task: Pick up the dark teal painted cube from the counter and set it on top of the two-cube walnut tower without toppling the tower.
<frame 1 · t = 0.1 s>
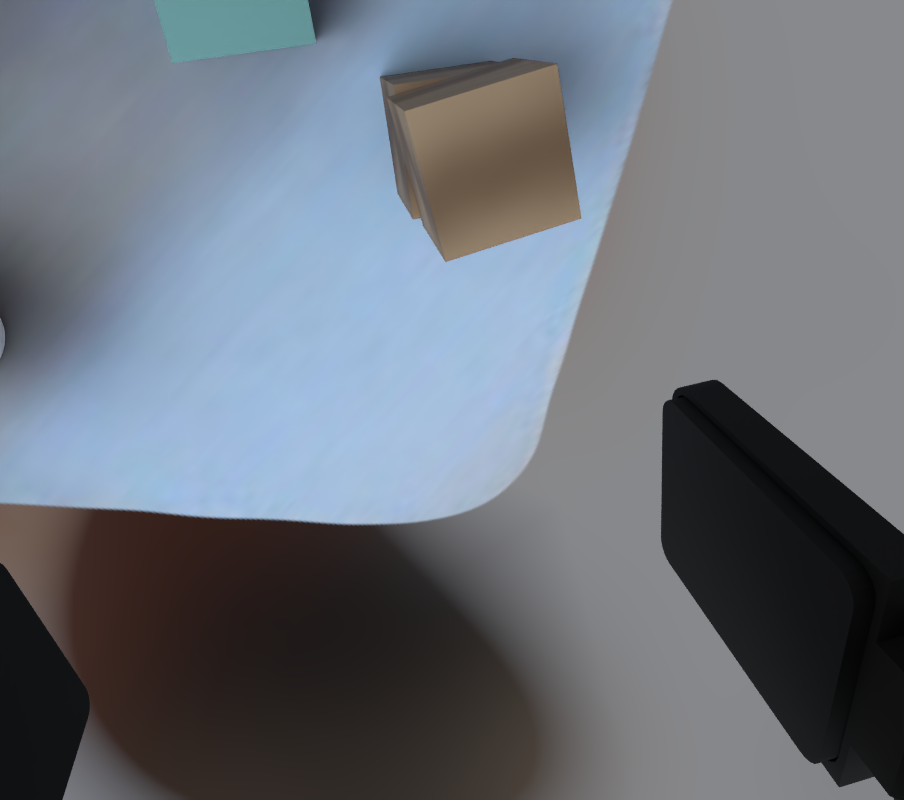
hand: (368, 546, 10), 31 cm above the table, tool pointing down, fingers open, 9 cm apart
tower base: (442, 129, 37), on the table, touching tower mid
tower mid: (466, 145, 31), point 6 cm above the table, touching tower base
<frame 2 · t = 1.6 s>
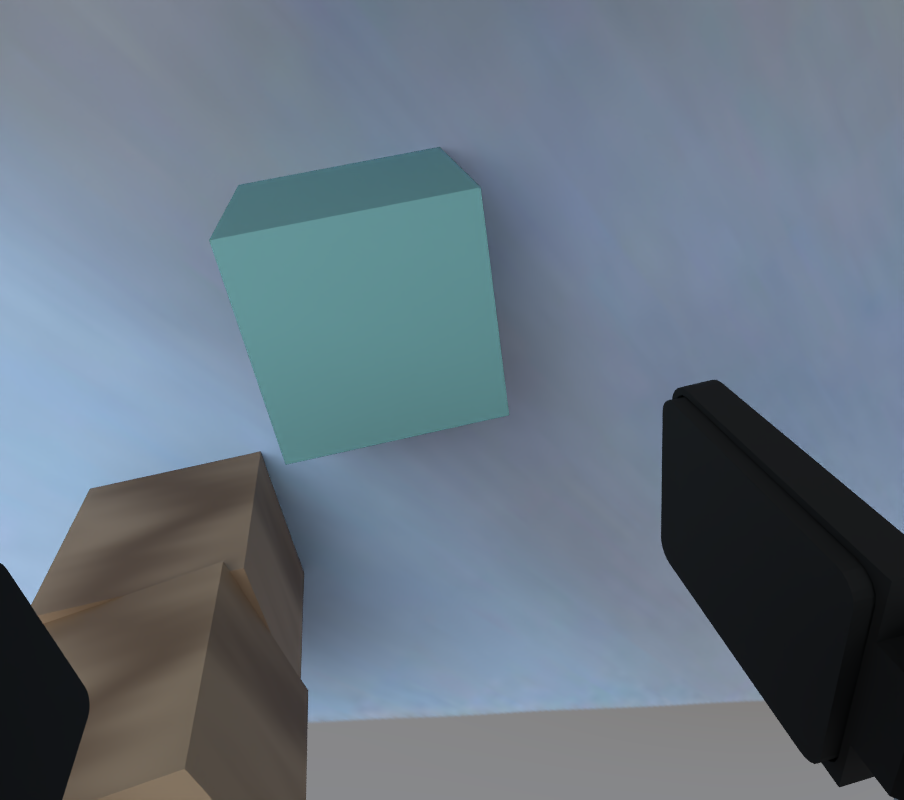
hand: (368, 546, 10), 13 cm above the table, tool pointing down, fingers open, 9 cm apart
tower base: (204, 533, 25), on the table, touching tower mid
tower mid: (173, 663, 20), point 6 cm above the table, touching tower base
teal block: (362, 262, 21), on the table
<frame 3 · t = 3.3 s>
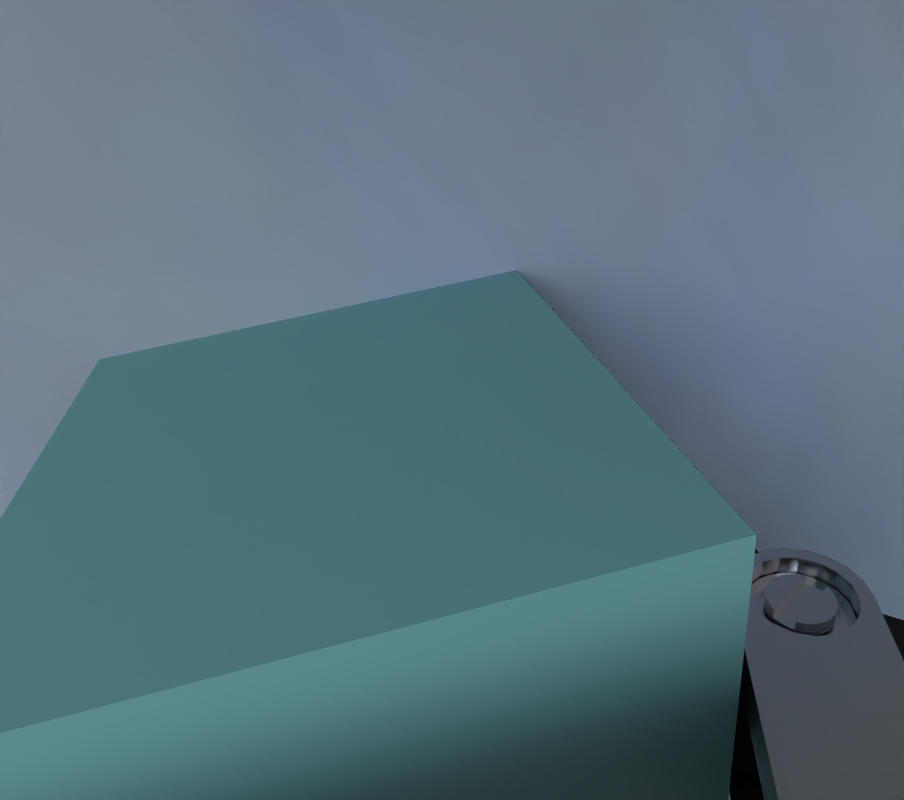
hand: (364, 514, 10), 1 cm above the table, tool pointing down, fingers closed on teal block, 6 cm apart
teal block: (360, 480, 11), on the table, touching gripper
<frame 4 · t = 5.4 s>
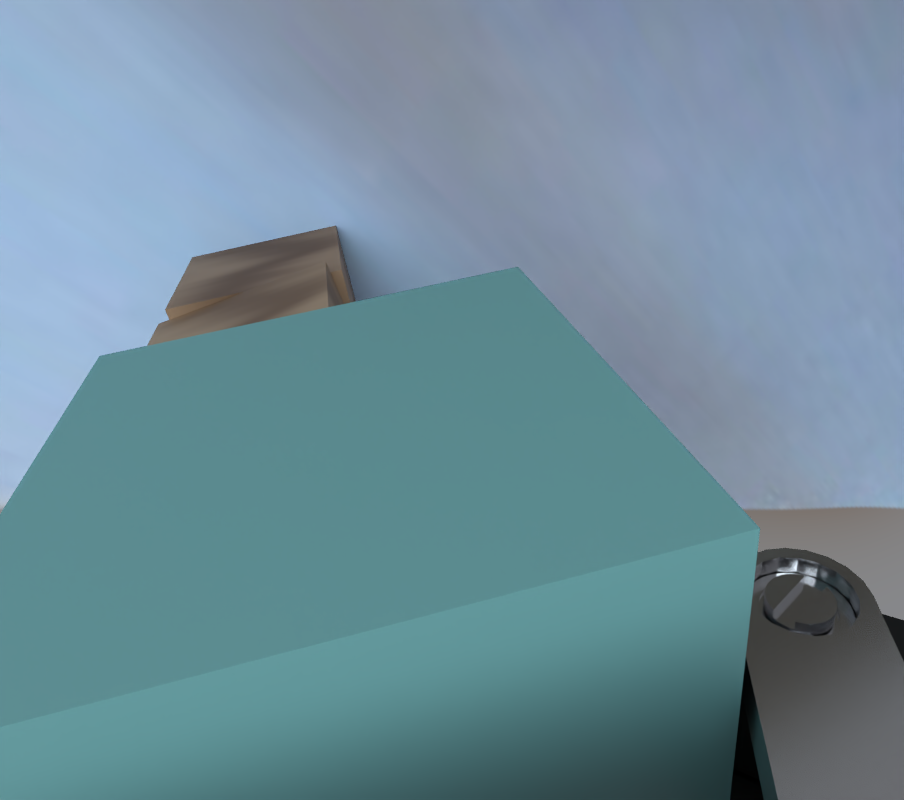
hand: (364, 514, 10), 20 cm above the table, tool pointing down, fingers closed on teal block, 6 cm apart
tower base: (286, 307, 29), on the table, touching tower mid
tower mid: (280, 366, 24), point 6 cm above the table, touching tower base
teal block: (360, 477, 11), point 19 cm above the table, touching gripper
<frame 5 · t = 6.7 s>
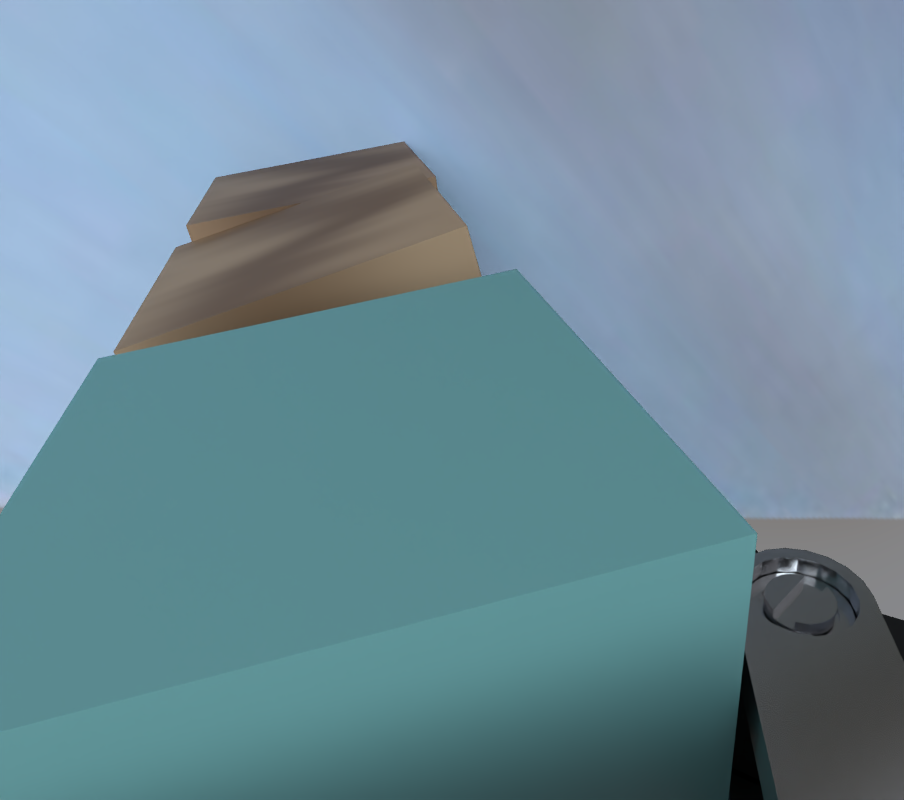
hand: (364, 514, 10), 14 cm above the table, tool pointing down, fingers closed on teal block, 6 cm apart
tower base: (333, 250, 23), on the table, touching tower mid
tower mid: (341, 315, 17), point 6 cm above the table, touching tower base
teal block: (359, 479, 11), point 13 cm above the table, touching gripper
when the fingers open (14 cm above the table, at t = 7.6 s): teal block stays where it is, resting on tower mid.
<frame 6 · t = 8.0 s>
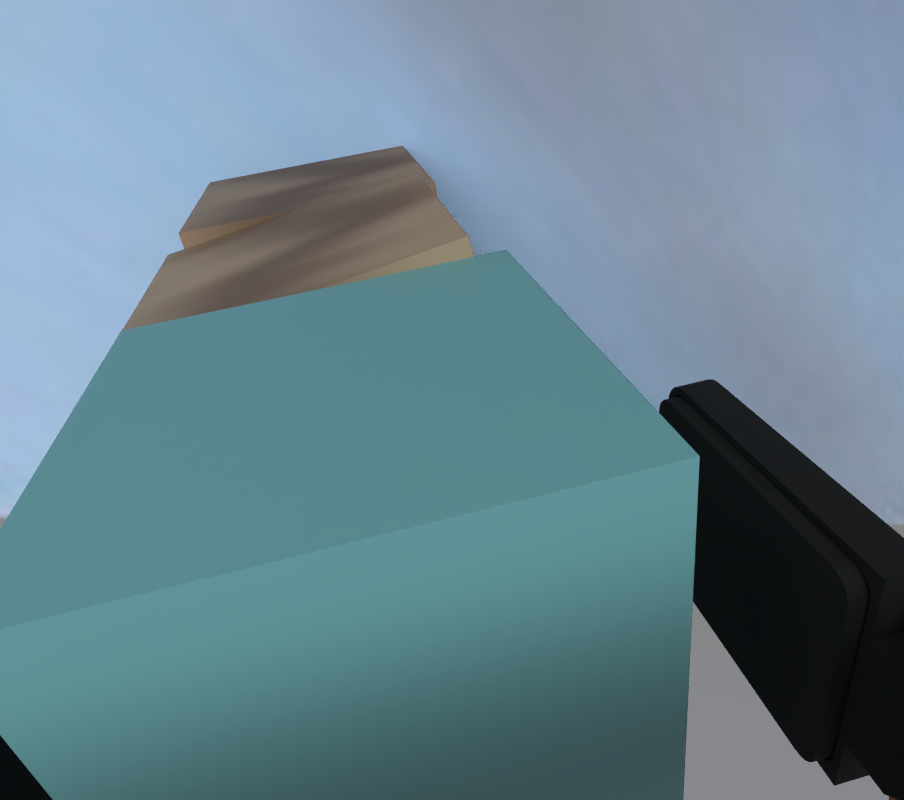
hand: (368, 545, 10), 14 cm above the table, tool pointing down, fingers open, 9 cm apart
tower base: (330, 256, 22), on the table, touching tower mid
tower mid: (338, 324, 17), point 6 cm above the table, touching teal block, tower base
teal block: (361, 447, 12), point 12 cm above the table, touching tower mid
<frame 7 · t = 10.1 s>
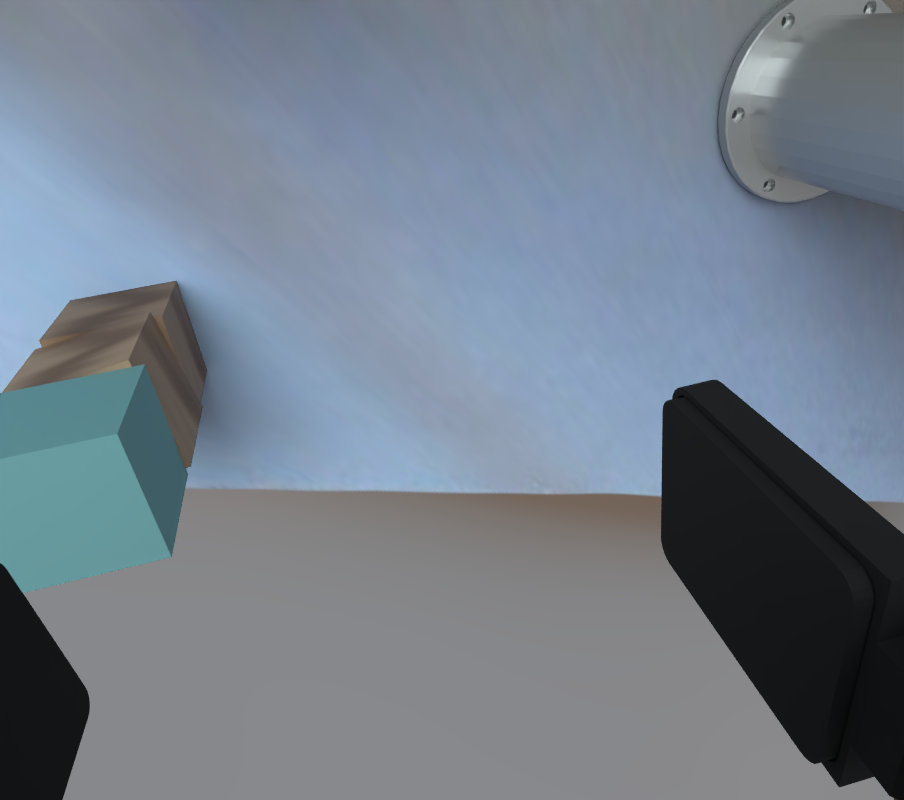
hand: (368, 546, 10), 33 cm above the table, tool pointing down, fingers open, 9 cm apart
tower base: (141, 336, 41), on the table, touching tower mid
tower mid: (122, 379, 35), point 6 cm above the table, touching teal block, tower base
teal block: (99, 436, 30), point 12 cm above the table, touching tower mid
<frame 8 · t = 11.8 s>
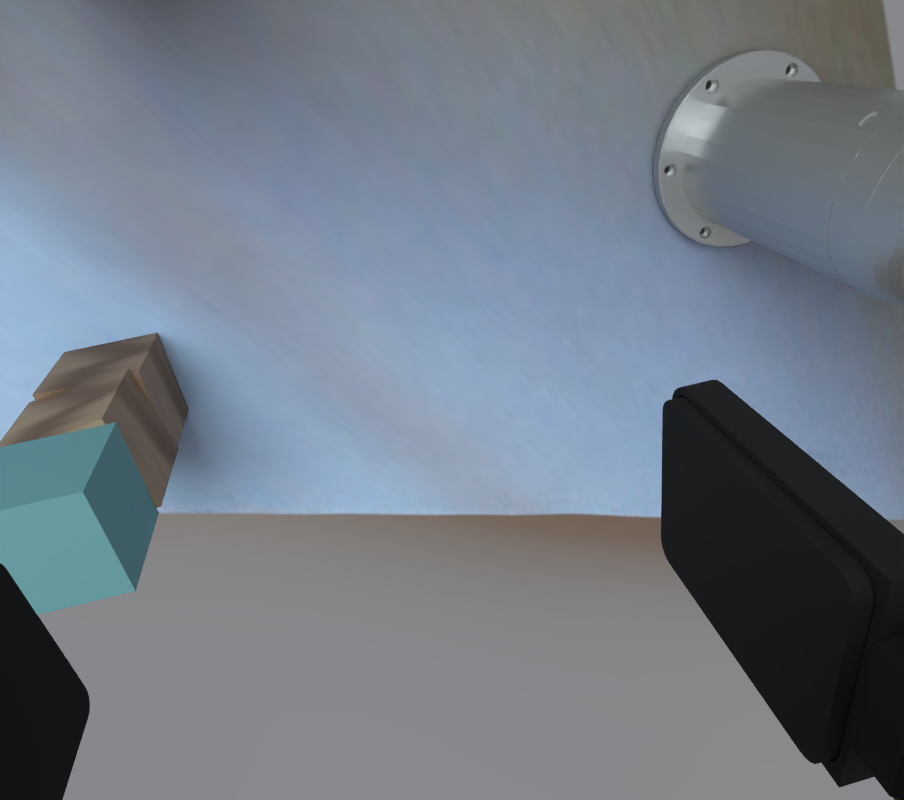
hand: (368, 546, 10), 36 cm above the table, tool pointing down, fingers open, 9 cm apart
tower base: (128, 381, 45), on the table, touching tower mid
tower mid: (106, 426, 40), point 6 cm above the table, touching teal block, tower base
teal block: (80, 482, 35), point 12 cm above the table, touching tower mid
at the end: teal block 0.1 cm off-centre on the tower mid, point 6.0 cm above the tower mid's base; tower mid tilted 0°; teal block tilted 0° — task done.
